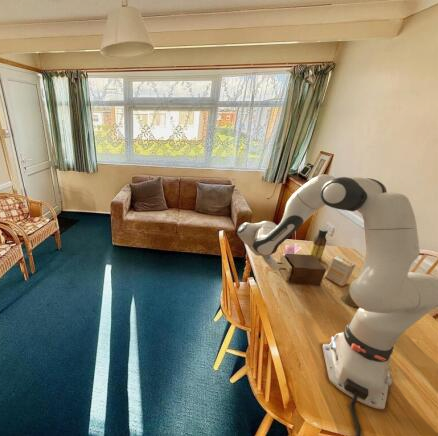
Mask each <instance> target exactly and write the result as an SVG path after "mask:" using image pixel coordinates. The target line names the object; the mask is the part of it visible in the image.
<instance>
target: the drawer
mask: <svg viewBox="0 0 438 436" xmlns="http://www.w3.org/2000/svg"><path fill="white" fill-rule="evenodd" d="M276 262H277V261H276ZM277 264H278V265H279V268H280V269H279V270H278V271H279V273H280V274H281V276H282V277H283V279H284V281H285V282H289V281H288V279H291V276H292V273H293V270H294V266H293V265H292V264H291V262H290V261H289V259H288V258H287V257H286V258H285V255H282V254H281V255H280V258H279V261H278V262H277Z"/></svg>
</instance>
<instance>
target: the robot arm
mask: <svg viewBox="0 0 438 436" xmlns="http://www.w3.org/2000/svg"><path fill="white" fill-rule="evenodd" d="M324 206H328V207H330V208H332V209H336V210H342V211H347V212H356V211H357V212H359V213H360V215H361V216H362V219H363V226H364V236H365V259H364V262H363V264H362V268H361V270H360V272H359V274H358V275H357V277H355V279H354V280H352V282H351V283H350V285H349V287H348V291H349V292H350V296H351V298H352V300H353V301H354V303H355V304H356V305H357V306H358V309H357V310H356V312H355V314H354V316H353V317H352V319H351V321H350V322H348V323H347V324H346V325H345V327H344V330H343V331H341V332H338V333H336V334H335V335H334V336H331V341H330V343H323V344H322V351H323V352H322V353H323V357H324V362H325V367H326V371H327V376H328V380H329V383H331V384H332V385H333V386H334V387H336V388H337V389H338V390H339V391H341V392H342V393H344V394H345V395H346V396H348V397H350V398H352V401H350V412H351V415H352V419H353V422H354V425H355V431H356V434H355V436H362V435H361V433H362V432H361V427H360V424H359V421H358V418H357V415H356V411H355V405H356V404H357V402H359V403H361V404H363V405H366V406H368V407H370V408H373V409H377V410H385V407H386V404H387V398H388V392H389V386H390V387H391V385H393V381H394V380H393V378H391V375H390V373H389V372H392V370H393V366H390V362H391V359H392V354H393V351H394V347H395V344H396V343H397V342H398V340H399V339H400V337H401V336H402V335H403V333H405V332H406V331H407V330H408V329H410V328H411V327H412V326H414V325H415V324H416V323H417V322H418V321H420V320H421V319H422V318H423V317H424V316H426V315H427V314H429V312H431V311H432V310H434V309H435V308H437V307H438V278H437V277H435V276H434V275H431V274H428V273H421V272H413V271H410V269H411V266H412V265H413V263H414V262H415V261H416V260H417V259H418V258H419V256H420V253H421V251H420V242H419V234H418V227H417V220H416V216H415V212H414V209H413V207H412V204H411V201H410V199H409V197H408V196H406V195H405V194H402V193H399V192H391V191H389V192H388V191H387V188H386V185H385V184H383V182H381V181H379V180H377V179H374V178H369V177H367V178H366V177H361V176H341V177H340V176H339V177H334V176H332V175H330V174H326V173H325V174H323V173H322V174H319V175H316V176H315V177H313V178H311V179H309V180H308V181H307V182H305V183H304V184H303V185H301V186H300V187H299V188H298V189H296V190H295V191H294V192H292V194H291V195H290V197H289V198H288V199H287V201H286V203H285V207H284V212H283V215H282V218H281V220H280V222H279V223H278V224H277V223H275V222H273V221H271V220H263V221H260V222H255V223H253V222H252V223H251V222H249V221H248V222H247V221H246V222H244V223H242V224H240V225H239V227H238V228H237V232H236V233H237V236H238V238H239V239H240V240H241V242H243V244H245V245H247V247H248V249H250V251H251V252H252V253H253V254H254V255H255V256H260V257H262V259H263V261H264V262H265V263H266V265H267V266H268V267H269V268H270V269H271V270H272V271H275V270H276V271H279V269H280V268H279V265H278V264H277V260H276V259H275V258H274V256H273V254H275V253H276V252H277V251H278V248H279V247H280V245H282V243H284V242H285V241H286V240H287V239H289V238H290V237H291V236H292V235H293V234H294V233H295V232H297V231H298V230H299V228H300V227H301V226H302V225H304V223H305V222H306V221H307V220H308V219H309V218H310V217H312V216H313V215H314V214H316V213H317V212H318V211H319V210H320V209H322V208H324ZM388 371H389V372H388Z"/></svg>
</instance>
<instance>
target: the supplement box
mask: <svg viewBox="0 0 438 436" xmlns="http://www.w3.org/2000/svg"><path fill="white" fill-rule="evenodd" d="M356 265H357V264H356V263H354V262H352V261H350V260H348V259H346V258H344V257H343V256H340V255H338V256H337V255H336V256H335V257H333V258H332V260H331V263H330V265H329V268H328V270H327V272H326V274H325V278H326V279H327V280H329V281H331V282H333V283H334V284H336V285H338V286H339V287H344V286H346V285H347V284H348V282H349V280H350V278H351V276H352V273H353V271H354V269H355V267H356Z"/></svg>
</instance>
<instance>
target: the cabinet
mask: <svg viewBox="0 0 438 436" xmlns="http://www.w3.org/2000/svg"><path fill="white" fill-rule="evenodd" d="M284 253H285V252H284ZM284 257H285V258H286V257H287V258H288V259H289V261H290V262H291V264H292V265H293V266H294V270H293V273H292V276H291V279H288V281H287V282H288V283H289V284H291V285H303V286H315V287H316V286H317V287H320V286H321V284H322V282H323V280H324V276H325V275H326V273H327V272H326V271H327V268H325V266H324V265H323V264H322V263H321V262H320V260H317V259H316V258H315V257H314V255H309V254H300V253H296V254H286V253H285V255H284Z"/></svg>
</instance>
